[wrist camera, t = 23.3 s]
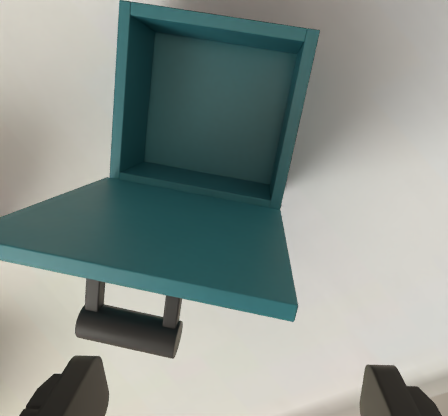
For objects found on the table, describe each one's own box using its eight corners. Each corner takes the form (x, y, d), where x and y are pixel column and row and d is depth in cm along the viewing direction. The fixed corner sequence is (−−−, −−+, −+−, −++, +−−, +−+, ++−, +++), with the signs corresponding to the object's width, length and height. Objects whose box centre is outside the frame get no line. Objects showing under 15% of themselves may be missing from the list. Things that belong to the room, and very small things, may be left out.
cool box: (149, 22, 31) (119, -1, 25) (308, 46, 30) (320, 30, 24) (138, 166, 35) (109, 180, 29) (276, 192, 34) (279, 212, 28)
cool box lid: (-47, 234, 14) (-41, 340, 16) (298, 305, 13) (271, 412, 15) (106, 177, 28) (102, 236, 30) (280, 209, 27) (267, 269, 29)
